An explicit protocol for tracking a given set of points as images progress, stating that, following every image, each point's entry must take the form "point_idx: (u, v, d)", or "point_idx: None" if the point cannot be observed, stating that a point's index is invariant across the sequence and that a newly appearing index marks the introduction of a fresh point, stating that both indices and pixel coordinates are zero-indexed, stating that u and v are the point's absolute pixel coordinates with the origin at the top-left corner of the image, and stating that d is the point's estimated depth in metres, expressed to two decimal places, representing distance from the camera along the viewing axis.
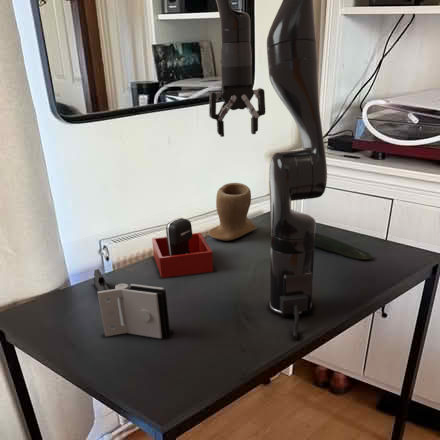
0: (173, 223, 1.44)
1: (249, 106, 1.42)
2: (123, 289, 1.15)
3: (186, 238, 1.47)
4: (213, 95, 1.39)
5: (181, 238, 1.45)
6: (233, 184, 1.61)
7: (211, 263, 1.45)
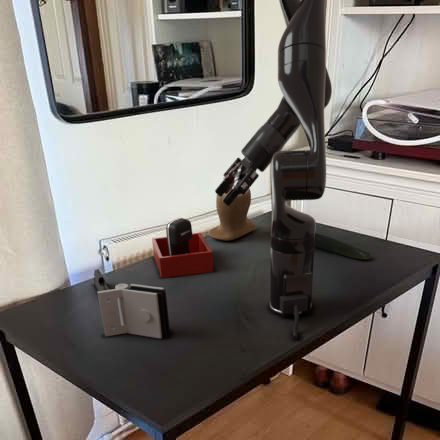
0: (173, 223, 1.44)
1: (236, 175, 1.39)
2: (123, 289, 1.15)
3: (186, 238, 1.47)
4: (236, 159, 1.46)
5: (181, 238, 1.45)
6: (233, 184, 1.61)
7: (211, 263, 1.45)
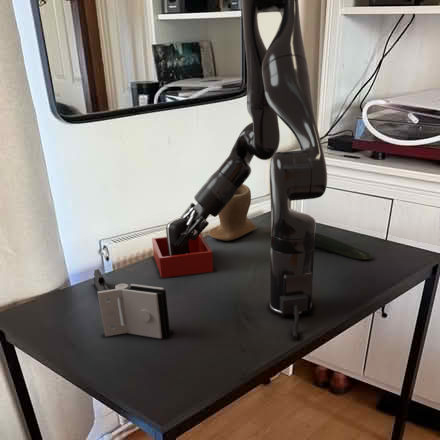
0: (173, 223, 1.44)
1: (188, 221, 1.43)
2: (123, 289, 1.15)
3: None
4: (190, 204, 1.50)
5: None
6: None
7: (211, 263, 1.45)
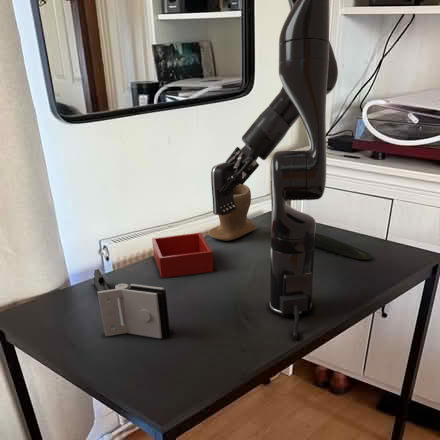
0: (219, 166, 1.32)
1: (236, 164, 1.32)
2: (123, 289, 1.15)
3: None
4: None
5: None
6: None
7: (211, 263, 1.45)
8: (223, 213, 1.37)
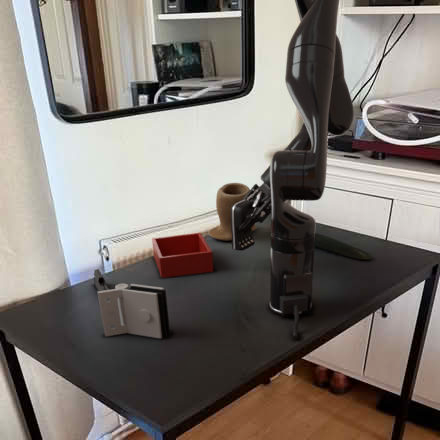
0: (238, 205, 1.36)
1: (255, 203, 1.35)
2: (123, 289, 1.15)
3: None
4: (254, 185, 1.42)
5: None
6: (233, 184, 1.61)
7: (211, 263, 1.45)
8: (242, 249, 1.41)
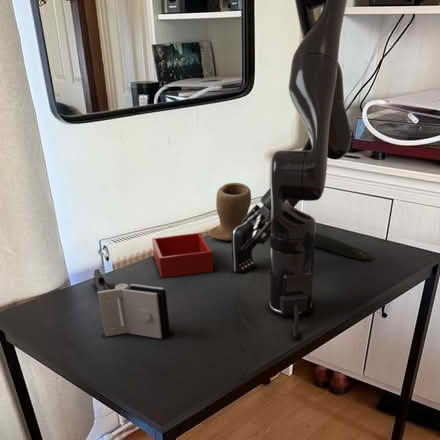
0: (239, 228, 1.39)
1: (255, 224, 1.38)
2: (123, 289, 1.15)
3: None
4: (255, 206, 1.45)
5: None
6: (233, 184, 1.61)
7: (211, 263, 1.45)
8: (242, 271, 1.44)
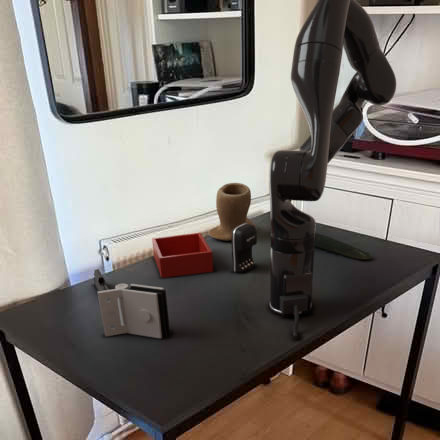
0: (239, 228, 1.39)
1: None
2: (123, 289, 1.15)
3: (251, 244, 1.42)
4: None
5: (247, 244, 1.41)
6: (233, 184, 1.61)
7: (211, 263, 1.45)
8: (242, 271, 1.44)
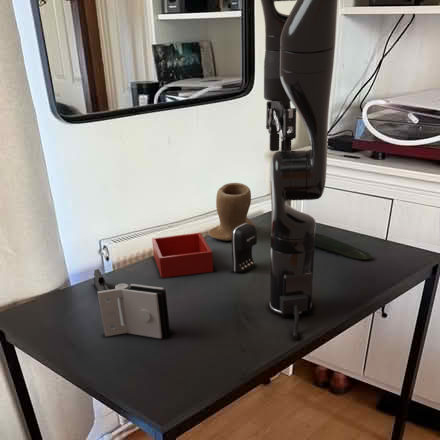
0: (239, 228, 1.39)
1: (277, 125, 1.24)
2: (123, 289, 1.15)
3: (251, 244, 1.42)
4: (267, 104, 1.29)
5: (247, 244, 1.41)
6: (233, 184, 1.61)
7: (211, 263, 1.45)
8: (242, 271, 1.44)
